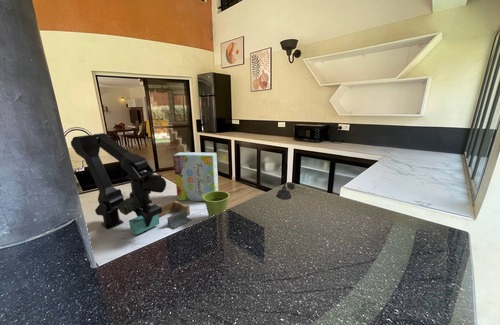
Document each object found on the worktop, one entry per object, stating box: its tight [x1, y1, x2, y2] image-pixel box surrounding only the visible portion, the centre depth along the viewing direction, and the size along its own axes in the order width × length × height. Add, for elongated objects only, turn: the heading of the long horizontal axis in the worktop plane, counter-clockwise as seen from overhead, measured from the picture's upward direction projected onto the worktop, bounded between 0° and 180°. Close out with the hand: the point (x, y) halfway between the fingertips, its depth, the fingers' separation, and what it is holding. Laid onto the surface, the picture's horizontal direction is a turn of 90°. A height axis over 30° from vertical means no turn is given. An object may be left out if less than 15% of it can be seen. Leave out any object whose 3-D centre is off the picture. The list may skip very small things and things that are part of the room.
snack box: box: [172, 151, 219, 202], centre depth 114 cm, size 22×9×26 cm, turn 84°
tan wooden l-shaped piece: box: [158, 199, 191, 218], centre depth 96 cm, size 11×16×4 cm
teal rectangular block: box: [128, 215, 160, 236], centre depth 86 cm, size 4×10×5 cm, turn 144°
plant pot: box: [203, 190, 230, 218], centre depth 95 cm, size 12×12×11 cm
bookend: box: [166, 210, 192, 230], centre depth 92 cm, size 4×9×4 cm, turn 145°
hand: (145, 224), depth 87 cm, fingers closed on teal rectangular block, 4 cm apart
